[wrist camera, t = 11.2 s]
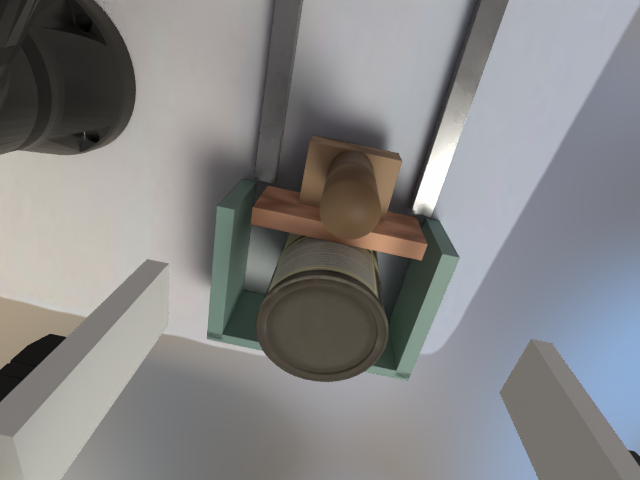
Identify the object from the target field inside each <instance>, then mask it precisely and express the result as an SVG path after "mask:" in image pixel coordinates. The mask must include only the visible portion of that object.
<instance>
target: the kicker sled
mask: <svg viewBox="0 0 640 480" xmlns="http://www.w3.org/2000/svg"><path fill="white" fill-rule="evenodd" d="M401 164H402V160H401V158H400V156H399V154H398V153H394V152H390V151H385V150H381V149H376V148H371V147H367V146H362V145H357V144H353V143H348V142H344V141H339V140H334V139H330V138H325V137H320V136H316V135H313V136H312V138H311V140H310V143H309V148H308V154H307V159H306V165H305V170H304V176H303V181H302V187H301V192H295V191H291V190H286V189H281V188H277V187H272V186H267V187H266V189H265V190H264V191H263V193H262V194H261V196H260V197H259V199H258V200H257V202H256V203H255V205H254V206H253V209H252V217H251V224H252V225H256V226H261V227H266V228H271V229H275V230H280V231H285V232H289V233H294V234H299V235H304V236H308V237H313V238H318V239H322V240H327V241H332V242H336V243H341V244H346V245H351V246H355V247H360V248H365V249H369V250H374V251H379V252H384V253H388V254H393V255H398V256H402V257H407V258H412V259H417V260H421V261H422V258H423V255H424V253H425V250H426V247H427V242H426V239H425V237H424V235H423V232H422V230H421V227H420V225H419V223H418V220H417V218H416V217H412V216H407V215H403V214H398V213H393V212H389V211H388V207H389V204H390V201H391V197H392V194H393V191H394V187H395V184H396V181H397V177H398V174H399V171H400V167H401Z"/></svg>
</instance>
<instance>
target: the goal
mask: <svg viewBox="0 0 640 480" xmlns="http://www.w3.org/2000/svg"><path fill="white" fill-rule="evenodd" d="M256 183H257V182H254V181H249V180H245V179H242V180H241V181H240V182H239V183H238V184H237V185H236V186H235V187H234V189H233V190H232V191H231V192H230V193H229V194H228V195H227V196H226V197H225V198H224V199H223V200H222V201H221V202H220V203H219V204H218V205H217V212H216V226H215V239H214V252H213V265H212V278H211V292H210V305H209V318H208V331H207V339H209V340H214V341H219V342H224V343H228V344H233V345H238V346H243V347H248V348H253V349H257V350H262V348H261V346H260V344H259V342H258V339H257V335H256V325H255V323H256V316H257V312H258V309H259V307H260V304H261V302H262V300H263V299H264V297H265V296H266V295H263V294H258V293H254V292H249V291H244V290H243V289H244V280H245V272H246V264H247V256H248V248H249V240H250V232H251V217H252V209H253V206H254V200H255V191H256ZM422 232H423V235H424V237H425V239H426V242H427V247H426V250H425V253H424V255H423V258H422V261H421V260H417V259H412V258H411V261H410V264H409V267H408V270H407V273H406V275H405V278H404V281H403V284H402V287H401V290H400V292H399V295H398V298H397V301H396V304H395V307H394V309H393V312H392V315H391V318H390V321H388V341H387V344H386V348H385V350H384V352H383V353H382V355H381V356H380V358H379V359H378V360H377V362H376V363H375V364H374V365H372V366H371V367H370V368H369V369H367V370H366V371H364V372H368V373H373V374H378V375H383V376H388V377H392V378H397V379H402V380H407V381H408V380H409V377H410V375H411V372H412V370H413V367H414V365H415V363H416V360H417V358H418V356H419V353H420V351H421V349H422V346H423V344H424V342H425V339H426V337H427V334H428V332H429V330H430V327H431V325H432V322H433V320H434V318H435V315H436V313H437V311H438V308H439V306H440V303H441V301H442V299H443V296H444V294H445V292H446V289H447V287H448V284H449V282H450V280H451V277H452V275H453V272H454V270H455V268H456V265H457V263H458V261H459V258H460V257H459V255H458V254H457V252H456V250H455V248H454V246H453V245H452V243H451V241H450V239H449V237H448V236H447V234H446V232H445V230H444V228H443V226H442V225H441V223H440V221H436V220H432V219H427V218H426V219H425V222H424V224H423V227H422ZM262 351H263V350H262Z"/></svg>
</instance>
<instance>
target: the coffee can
mask: <svg viewBox="0 0 640 480" xmlns="http://www.w3.org/2000/svg"><path fill="white" fill-rule="evenodd" d="M255 325H256V335H257V339H258V342H259V344H260V346H261V348H262V350H263V351H264V353H265V354H266V355H267V356H268V358H269V359H270V360H271V361H272V362H274V363H275V364H276V365H277V366H278V367H280V368H281V369H282V370H284V371H286V372H288V373H290V374H292V375H294V376H297V377H300V378H303V379H306V380H312V381H320V382H333V381H340V380H345V379H349V378H351V377H354V376H357V375H359V374H360V373H362V372H364V371H366V370H367V369H369V368H370V367H371V366H372V365H374V364H375V363H376V362H377V360H378V359H379V358H380V356H381V355H382V353H383V352H384V350H385V348H386V344H387V341H388V321H387V317H386V313H385V311H384V303H383V296H382V289H381V283H380V275H379V268H378V260H377V251H374V250H369V249H365V248H360V247H355V246H351V245H346V244H341V243H336V242H332V241H327V240H322V239H318V238H313V237H308V236H304V235H299V234H294V233H289V232H288V234H287V237H286V241H285V245H284V247H283V250H282V253H281V255H280V258H279V260H278V263H277V266H276V268H275V271H274V274H273V276H272V279H271V282H270V285H269V287H268V290H267V293H266V296H265V297H264V299H263V300H262V302H261V304H260V307H259V309H258V312H257V316H256V323H255Z"/></svg>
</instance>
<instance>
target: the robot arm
mask: <svg viewBox="0 0 640 480" xmlns="http://www.w3.org/2000/svg"><path fill="white" fill-rule="evenodd" d="M135 95H136V86H135V76H134V70H133V66H132V62H131V59H130V56H129V53H128V50H127V48H126V45H125V43H124V41H123V39H122V37H121V35H120V34H119V32H118V30H117V29H116V27H115V26H114V24H113V23H112V21H111V20H110V19H109V17H108V16H107V15H106V14H105V12H104V11H103V10H102V9H101V8H100V7H99V6H98V5H97V4H96V3H95V2H94V1H93V0H0V155H1V154H5V153H8V152H12V151H16V150H21V151H30V152H39V153H48V154H57V155H75V154H82V153H86V152H89V151H92V150H95V149H98V148H101V147H103V146H105V145H107V144H109V143H111V142H112V141H114V140H115V139H116V138H117V137H118V136H119V135H120V134H121V133H122V132H123V130H124V129H125V127H126V126H127V124H128V122H129V120H130V118H131V115H132V112H133V108H134V103H135ZM168 289H169V264H168V263H163V262H158V261H154V260H149V259H147V260H146V261H145V262H144V263H143V264H142V265H141V266H140V267H139V268H138V269H137V270H136V271H135V272H134V273H133V274H132V275H131V276H129V277H128V278H127V279H126V280H125V281H124V282H123V283H122V284H121V285H120V286H119V287H118V288H117V289H116V290H115V291H114V292H113V293H112V294H111V295H110V296H109V297H108V298H107V299H106V300H105V301H104V302H103V303H102V304H101V305H100V306H99V307H98V308H97V309H96V310H95V311H94V312H92V313H91V314H90V315H89V316H88V317H87V318H86V319H85V320H84V321H83V322H82V323H81V324H80V325H79V326H78V327H77V328H76V329H75V330H74V331H73V332H72V333H71V334H70V335H69V336H68V337H63V336H58V335H53V334H49V335H47V336H45V337H43V338H41V339H39V340H37V341H35V342H34V343H31V344H30V345H28V346H27V347H26V348H24V349H23V350H22V351H21V352H20V353H19V354H18V355H16V356H15V357H14V358H13V359H12V360H11V362H10V363H9V364H6V365H5V366H4V367H3V368H2V369H1V370H0V480H60V479H61V478H62V477H63V475H64V474H65V472H66V471H67V469H68V468H69V467H70V465H71V464H72V462H73V461H74V459H75V458H76V456H77V455H78V454H79V452H80V451H81V449H82V447H83V446H84V445H85V443H86V442H87V441H88V439H89V438H90V436H91V435H92V433H93V432H94V430H95V429H96V428H97V426H98V425H99V423H100V422H101V420H102V419H103V418H104V416H105V415H106V413H107V412H108V410H109V409H110V407H111V406H112V405H113V403H114V402H115V400H116V399H117V397H118V396H119V394H120V393H121V392H122V390H123V389H124V387H125V386H126V384H127V383H128V382H129V380H130V379H131V377H132V376H133V374H134V373H135V371H136V370H137V369H138V367H139V366H140V364H141V363H142V361H143V360H144V358H145V357H146V356H147V354H148V352H149V351H150V350H151V348H152V347H153V345H154V344H155V343H156V341H157V340H158V338H159V337H160V335H161V334H162V333H163V331H164V330H165V328H166V327H167V325H168ZM500 394H501V397H502V399H503V401H504V403H505V406H506V408H507V410H508V412H509V414H510V417H511V419H512V421H513V423H514V426H515V428H516V430H517V432H518V435H519V437H520V439H521V441H522V443H523V446H524V448H525V450H526V452H527V455H528V457H529V459H530V461H531V463H532V466H533V468H534V470H535V472H536V475H537V477H538V479H539V480H640V456H639V455H638V454H637V453H636V452H634V451H629V450H628V449H627V448H626V447H625V445H624V444H623V442H622V441H621V440H620V438H619V437H618V435H617V434H616V433H615V431H614V430H613V428H612V427H611V426H610V424H609V423H608V421H607V420H606V419H605V417H604V416H603V415H602V413H601V412H600V410H599V409H598V407H597V406H596V405H595V403H594V402H593V400H592V399H591V397H590V396H589V395H588V394H587V392H586V390H585V389H584V388H583V386H582V385H581V383H580V382H579V381H578V379H577V378H576V376H575V375H574V374H573V372H572V371H571V369H570V368H569V367H568V365H567V364H566V363H565V361H564V360H563V358H562V357H561V355H560V354H559V353H558V351H557V350H556V348H555V347H554V346H553V344H552V343H548V342H543V341H538V340H534V339H531V340H530V342H529V343H528V345H527V347H526V349H525V350H524V352H523V354H522V355H521V357H520V359H519V360H518V362H517V364H516V366H515V367H514V369H513V371H512V372H511V374H510V376H509V377H508V379H507V381H506V383H505V384H504V386H503V388H502V390H501V391H500Z"/></svg>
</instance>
